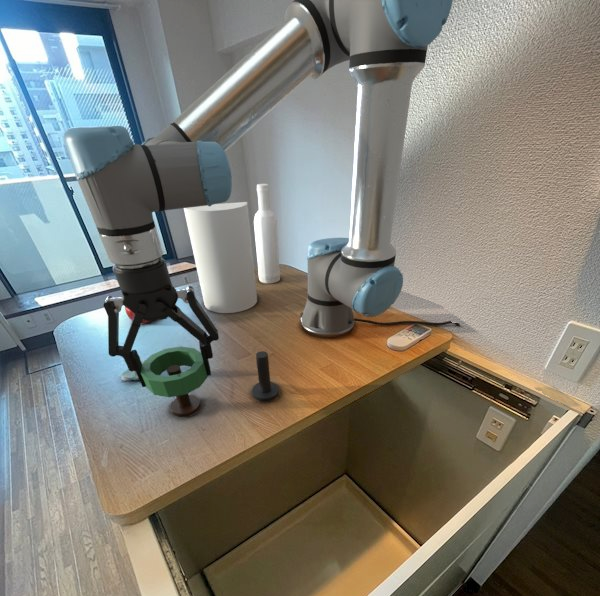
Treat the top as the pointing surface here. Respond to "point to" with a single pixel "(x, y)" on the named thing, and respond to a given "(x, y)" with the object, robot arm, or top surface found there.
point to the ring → (174, 383)
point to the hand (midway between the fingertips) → (177, 377)
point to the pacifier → (130, 374)
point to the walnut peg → (183, 399)
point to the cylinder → (223, 255)
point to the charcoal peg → (264, 380)
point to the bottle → (266, 238)
